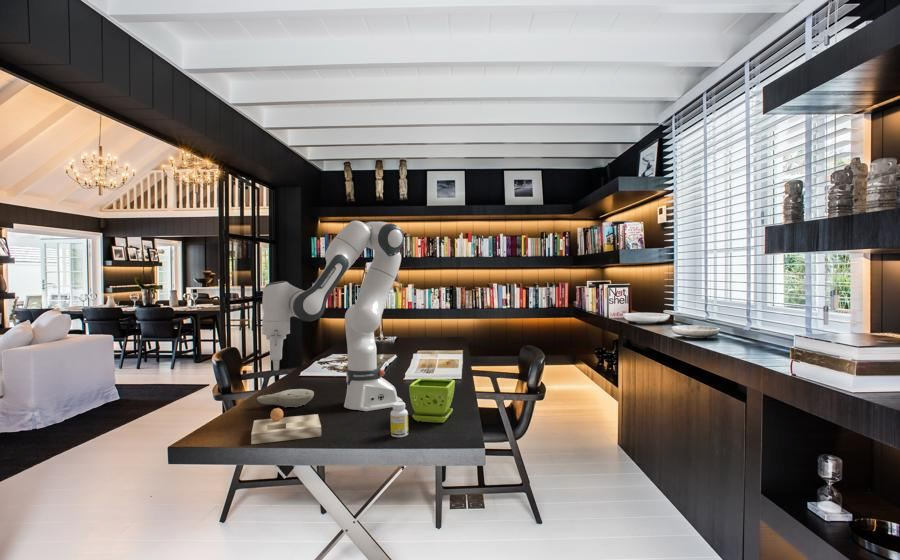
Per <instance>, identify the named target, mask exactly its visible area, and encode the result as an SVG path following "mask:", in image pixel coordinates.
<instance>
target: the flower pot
mask: <svg viewBox="0 0 900 560" xmlns="http://www.w3.org/2000/svg"><path fill="white" fill-rule="evenodd" d="M455 385H456V381H455V380H454V379H446V378H445V379H443V378H417V379H416V380H415V381H412V382H411V384H409V386H408V390H409V391H408V392H409V399H410V403H411V407H412V410H413V412H414V413H413V414H412V416H411V417H412V418H413V420H415V421H416V422H420V421H421V422H426V423H441V424H442V423H445V422H446V420H447V419H448V418H449V417H450V415H451V414H452V413H453V411H454V410H453V408H450V407H451V404H452V402H453V398H454V393H455V387H456V386H455Z"/></svg>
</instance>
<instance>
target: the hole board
mask: <svg viewBox="0 0 900 560" xmlns="http://www.w3.org/2000/svg"><path fill="white" fill-rule="evenodd" d="M250 435H251V439H250V440H251V441H250V444H251V445H258V444H267V443H276V442H284V441H292V440H302V439H308V438H309V439H311V438H317V437H318V438H320V437H322V424H321V421H320V417H319V414H318V413H317V414H315V413H314V414H305V415H296V416H295V415H294V416H287V417H286V416H285V417H284V416H283V417H282V419H280V420H279V421H274V420H272V419H271V418H267V419H265V418H264V419H256V420H255V419H254V420H253V424H252V430H251V434H250Z"/></svg>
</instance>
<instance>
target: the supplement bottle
mask: <svg viewBox="0 0 900 560" xmlns="http://www.w3.org/2000/svg"><path fill="white" fill-rule="evenodd" d="M391 408H392V410H391V411H390V435H391V437H393V438H404V437H406V436H408V435H409V413H408V410H407V409H406V403H405V402H404V401H403V402H395V403H393V406H392V407H391Z"/></svg>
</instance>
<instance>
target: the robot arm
mask: <svg viewBox="0 0 900 560" xmlns="http://www.w3.org/2000/svg"><path fill="white" fill-rule="evenodd" d="M404 236H405V235H404V231H403V230H402V228H401V227H400V226H398V225H397V224H395V223H391V222H390V223H389V222H385V221H372V220H371V221H370V220H369V221H365V222H362V221H360V220H352V221H350V222H349V223H347V224H346V225H345V226H344V227H343V228H342V229H341V230H340V231H339V232H338V233H337V235H336V236H334V238H333V239H332V240H331V242H330V243H329V245H328V247H327V248H326V250H325V253H324V256H325V257H324V258H325V262H326V264H325V267H324V269H323V270H322V272H321V274H320V275H319V276H318V278H317V279H316V280H315V282H314V283H313V285H312V286H311V287H310V288H308V289H307V290H303V289H300V288H299V287H297V286H294V285H292V284H291V283H289V282H288V281H286V280H281V281H279V280H278V281H275V282H269V283H267V284H266V285H265V286H264V288H263V291H262V292H263V293H262V303H261V305H262V306H261V307H262V312H263V316H262V318H261V319H262V323H261V324H262V326H261V327H262V329H261V330H262V331H261V333H262V336H266V340H269V359H270V361H272V366H273V371H279V370H280V361H281V360H282V359H283V346H284V340H286V339H287V335H289V334H291V318H292V317H295V318H297V319H300V320H301V321H303V322H314V321H317V320H318V319H320V318H321V317H322V316H323V314H324V313H325V311H326V308H327V302H328V299H329V296H331V294H332V292H333V291H334V289H335V288H336V287H337V285H338V283H339V282H341V281H340V280H341V279H342V277H343V276H344V275H345V274H346V272H347V271H348V270H349V269H350V268H351V266H352V265H354V263H355V262H356V260H358V259H359V257H360V255H361V254H362V253H363V251H364V250H366V249H371V250H374V251H373V252H374V255H373V259H372V261H371V264H370V265H369V267H368V270H367V272H366V274H365V276H364V279H363V280H362V283H361V286H360V289H359V293H358V296H357V298H356V302H355V304H353V305H351V306H350V307H349V308H348V309H347V310H346V312H345V315H344V324H345V325H344V327H345V337H346V344H347V346H346V348H347V369H346V372H345V373H346V375H345V377H346V378H345V379H346V384H347V386H346V387H347V388H346V395H345V400H344V404H343V407H344V408H346V409H349V410H354V411H355V410H356V411H357V410H358V411H364V412H369V411H375V410H382V409H387V408H389V409H390V408H393V407H392V406H393V403H395V402H404V401H403V399H402V397H401V398H400V397H399V396H398V395H397V389H396V387H395V386H394V385H393V384H392V383H390V382H389V381H388V380H386V379H385V378H383V377H384V376H385V375H386V373H385V371H384V369H380V368H379V367H378V363H377V359H378V358H377V352H378V351H377V350H378V349H377V344H376V338H375V331H376V330H377V329H378V328H379V326H380V324H381V319H382V316H383V313H384V310H385V306H386V303H387V298H388V296H389V293H390V291H391V289H392V287H393V285H394V282H395V279H396V278H397V275H398V272H399V269H400V266H401V263H402V254H401V250H402V247H403V244H404V241H405V239H404ZM382 376H383V377H382Z"/></svg>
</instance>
